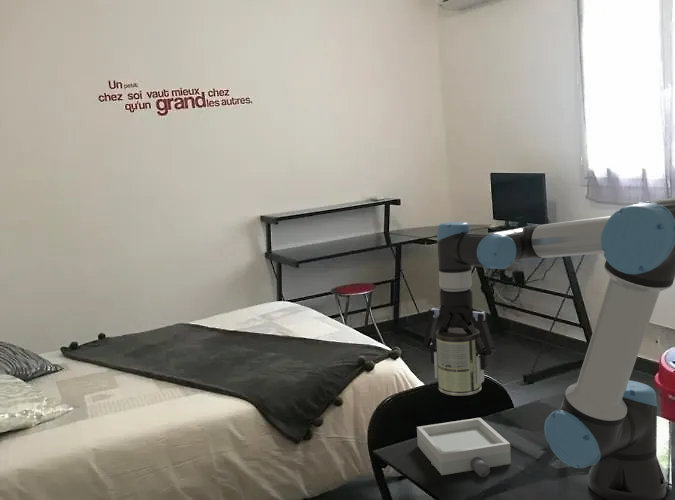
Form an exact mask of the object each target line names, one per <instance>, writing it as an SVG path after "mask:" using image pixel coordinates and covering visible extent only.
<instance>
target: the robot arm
mask: <svg viewBox="0 0 675 500" xmlns="http://www.w3.org/2000/svg"><path fill="white" fill-rule="evenodd" d="M436 237H437V239H436V243H437V257H438V278H439V283H438V285H439V287H440V290H439V303H440V307H439V308H436V307H432V308H430V309H429V310H427V314H428V315H427V316H428V322H427V326H426V330H425V334H424V338H423V343H422V348H424V349H428V350H429V351H430V362H431V364H433V365H434V379H438V360H437V342H436V336H435V337H434V335H435V332H436V331H435V330H436V327H437V323H438V317H440V316H441V318H442V320H443V321H442V323H441V325H440V328H439V329H440V330H439V329H438V330H439V331H438V332H443V333H444V332H445V331H447V330H448V328H449V327H458V328H463V329H464V331H465V332H466V333H467V334H468V335H472V334H474V333H476V332H477V331H476V330H475V328H476V327H475V325H474V322H473V321H472V319H473V318H474V319H475V321H476V322H477V326H478V330H479V331H480V335H481V337H480V336H479V337H478V338H475V348H476V350H477V352H478V354H479V355H478V356H477V357H476V368H477V384H481V385H482V383H484V381H485V370H486V369H487V368H488V364H489V363H488V356H491V355H492V354H493V353H495V352H496V347H495V345H494V342H493V338H492V336H491V332H490V328H489V326H488V323H487V312H486V311H485V310H482V311H475V310H474V307H473V301H474V299H473V289H472V288H471V287H472V286H473V281H472V267H479V268H486V269H490V270H496V269H498V270H505V269H508V268H509V267H510V265H512V264H514V263H516V262H521V261H527V260H535V259H536V260H537V259H538V260H540V259H545V258H546V259H549V258H557V257H558V258H560V257H572V256H573V257H574V256H586V255H587V256H589V255H602V254H603V257H604V260H605V262H604V269H605V271H606V273H607V274H608V276H609V280H608V283H607V287H606V289H605V292H604V295H603V296H604V297H603V299H602V303H601V305H600V309H599V312H598V315H597V318H596V321H595V324H594V327H593V330H592V335H591V336H590V341H589V344H588V347H587V350H586V353H585V356H584V359H583V362H582V366H581V369H580V371H579V376H578V378H577V381H576V382H575V383H573V384H571V385H569V386H568V387H566V389H565V392H564V396H563V399H562V402H561V406H560V408H558V409H556V410H553V411H552V412H551V413H549V415H548V416H547V417H546V419H545V421H544V426H543V427H544V431H543V432H544V436H545V440H546V442H547V443H548V445H549V448H550V450H551V452H553V454H554V455H555V456H556V457H557V459H559V460H560V461H561V462H562V463H564V464H565V465H567V466H569V467H572V468H575V469H585V468H587V467H590V466H591V468H590V469H589V472H588V486H589V489H590V490H591V492H593V493H594V494H596V495H597V496H599V497H600V498H602V499H605V500H663V499H665V496H666V494H667V482H666V480H665V476H664V474H663V470H662V467H661V465H660V463H659V460H658V459H659V458H658V456H657V455H658V454H657V451H658V449H657V446H658V445H657V443H658V442H657V437H658V435H657V431H658V430H657V428H658V425H657V424H658V420H657V419H658V413H657V411H658V403H657V394H656V391H655V389H654V388H653V387H651V386H649V385H648V384H645V383H642V382H639V381H635V380H630V378H631V375H632V373H633V370H634V366H635V364H636V361H637V360H638V359H637V358H638V355H639V353H640V349H641V348H642V344H643V341H644V338H645V335H646V332H647V329H648V327H649V324H650V320H651V318H652V315H653V312H654V309H655V307H656V304H657V301H658V298H659V294H660V293H661V292H662V291H665V290H668V289H670V288H672V286H673V284H674V280H675V197H668V198H664V199H658V200H657V199H656V200H652V201H650V200H649V201H645V200H644V201H638V202H637V201H636V202H634V203H632V204H629V205H626V206H624V207H622V208H619V209H618V210H617V211H615V212H613V214H611V215H609V216H601V217H592V218H584V219H575V220H569V221H562V222H553V223H545V224H540V225H536V224H534V225H533V224H532V225H526V226H522V227H518V228H517V227H516V228H512V229H505V230H500V231H499V230H498V231H493V232H485V233H484V232H473V231H471V226H470V224H469V222H466V221H448V222H442V223H441V224H438V226H437V236H436ZM433 338H434V339H433Z"/></svg>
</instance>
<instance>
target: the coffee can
mask: <svg viewBox="0 0 675 500" xmlns="http://www.w3.org/2000/svg"><path fill="white" fill-rule="evenodd" d="M474 328H475V330H476V331H477V332H476V333H474V334H472V335H468V334H467V333H466V332H465V331H464V329H463V328H458V327H449V328H448V330H447V331H445V332H444V333H443V332H438V331H439V330H440V328H438V329H436V331H435V337H436V342H437V360H438V378H437V380H438V391H440V393H443V394H445V395H447V396H454V397H455V396H456V397H457V396H458V397H459V396H471V395H475V394H478V393H479V392H480V391H482V383H481V384H477V368H476V357H477V356H478V355H479V354H478V352H477V350H476V348H475V338H478V337H480V335H481V334H480V330H479V328H476V327H474Z"/></svg>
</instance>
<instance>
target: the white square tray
mask: <svg viewBox="0 0 675 500" xmlns="http://www.w3.org/2000/svg"><path fill="white" fill-rule="evenodd" d="M416 434H417V435H416V436H417V437H416V439H417V447H418V448H419V449H420V450H421V452H422V453H423V454H424V455H425V457H426V458H427V459H428V460H429V461H430V463H431V464H432V465H433V466H434V467H435V469H436V470H437V471H438V472H439V473H440V475H441V476H445V475H451V474H458V473H462V472H464V473H465V472H470V471H474V472H475V473H476V474H477V475H478V476H479V477H481V478H486V477H487V476H488V475H489V474H490V473H491V469H490V468H494V467H501V466H507V465H511V464H512V462H511V461H512V460H511V459H512V458H511V443H510V442H509V441H508V440H507V439H506V438H504V437H503V436H502V435H501V434H500V433H498V431H496V429H494V428H493V427H492V426H491V425H489V423H487V421H485V420H484V419H482V418H481V417H475V418H469V419H461V420H456V421H448V422H442V423H434V424H428V425H421V426H416Z"/></svg>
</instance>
